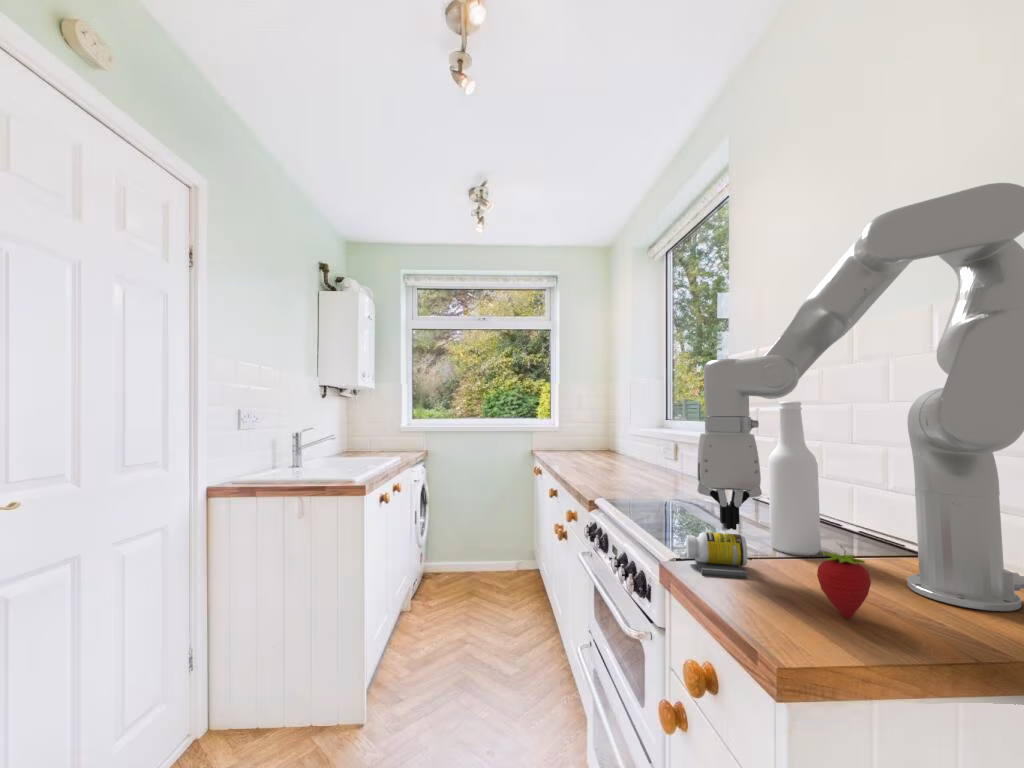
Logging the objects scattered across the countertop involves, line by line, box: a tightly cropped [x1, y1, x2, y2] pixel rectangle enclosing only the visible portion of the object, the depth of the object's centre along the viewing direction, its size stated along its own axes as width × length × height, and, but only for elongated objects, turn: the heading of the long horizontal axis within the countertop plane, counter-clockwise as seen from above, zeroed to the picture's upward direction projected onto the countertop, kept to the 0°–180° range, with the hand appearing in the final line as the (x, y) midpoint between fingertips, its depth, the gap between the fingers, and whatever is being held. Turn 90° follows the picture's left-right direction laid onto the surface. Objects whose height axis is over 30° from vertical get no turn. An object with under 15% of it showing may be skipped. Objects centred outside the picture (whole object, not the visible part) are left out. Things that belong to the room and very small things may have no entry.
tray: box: [694, 557, 748, 579], centre depth 87 cm, size 7×12×1 cm, turn 167°
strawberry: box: [816, 541, 872, 620], centre depth 65 cm, size 6×8×10 cm
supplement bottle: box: [685, 531, 748, 567], centre depth 87 cm, size 5×5×10 cm
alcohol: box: [767, 400, 822, 557], centre depth 97 cm, size 9×9×30 cm
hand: (729, 527), depth 86 cm, fingers closed
